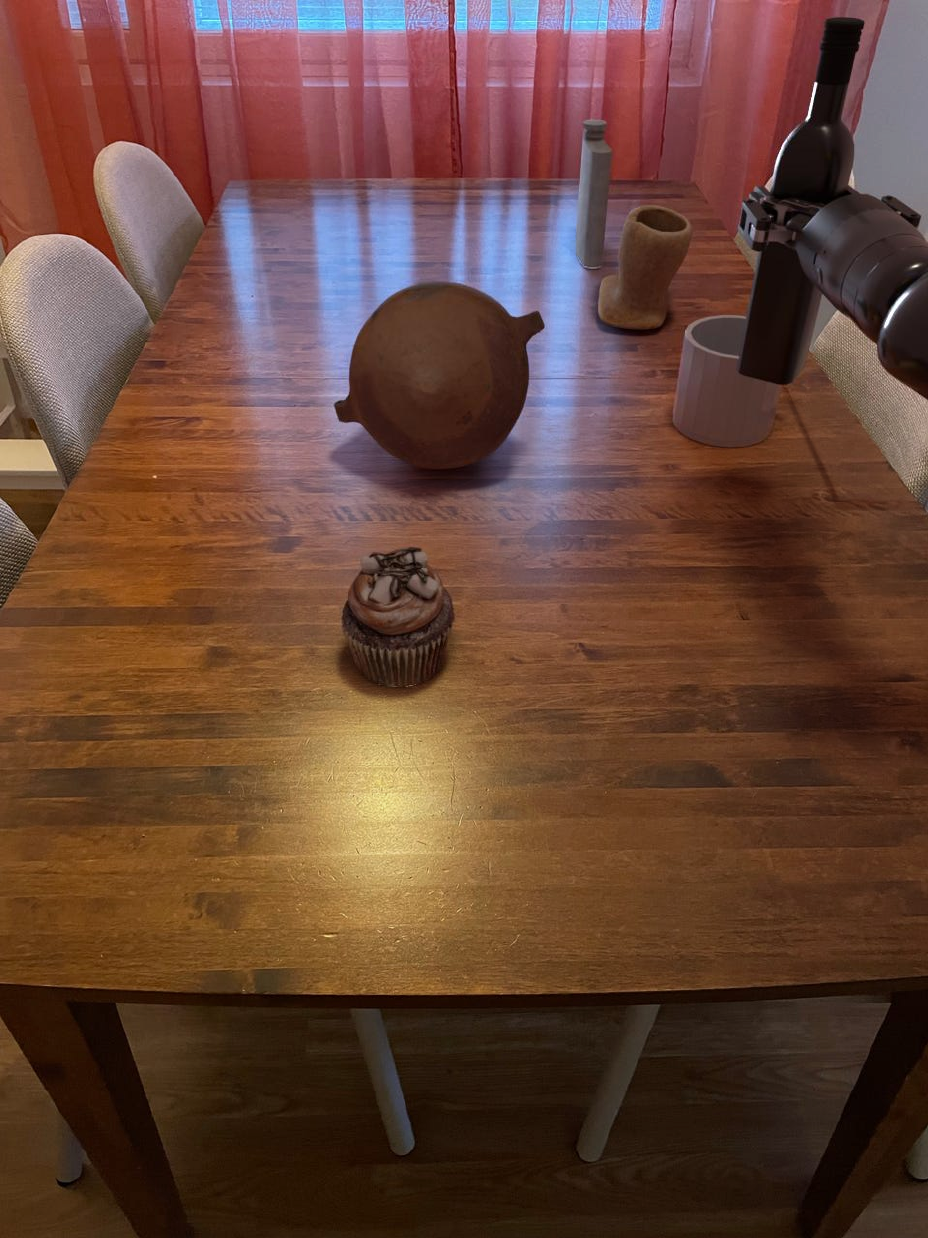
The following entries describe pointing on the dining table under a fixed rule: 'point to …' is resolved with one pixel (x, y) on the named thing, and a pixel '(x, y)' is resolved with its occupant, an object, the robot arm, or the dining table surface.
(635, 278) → the brown boot vase
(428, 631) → the cupcake
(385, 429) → the jug
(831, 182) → the wine bottle
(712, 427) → the cup
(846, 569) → the dining table surface
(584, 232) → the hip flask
